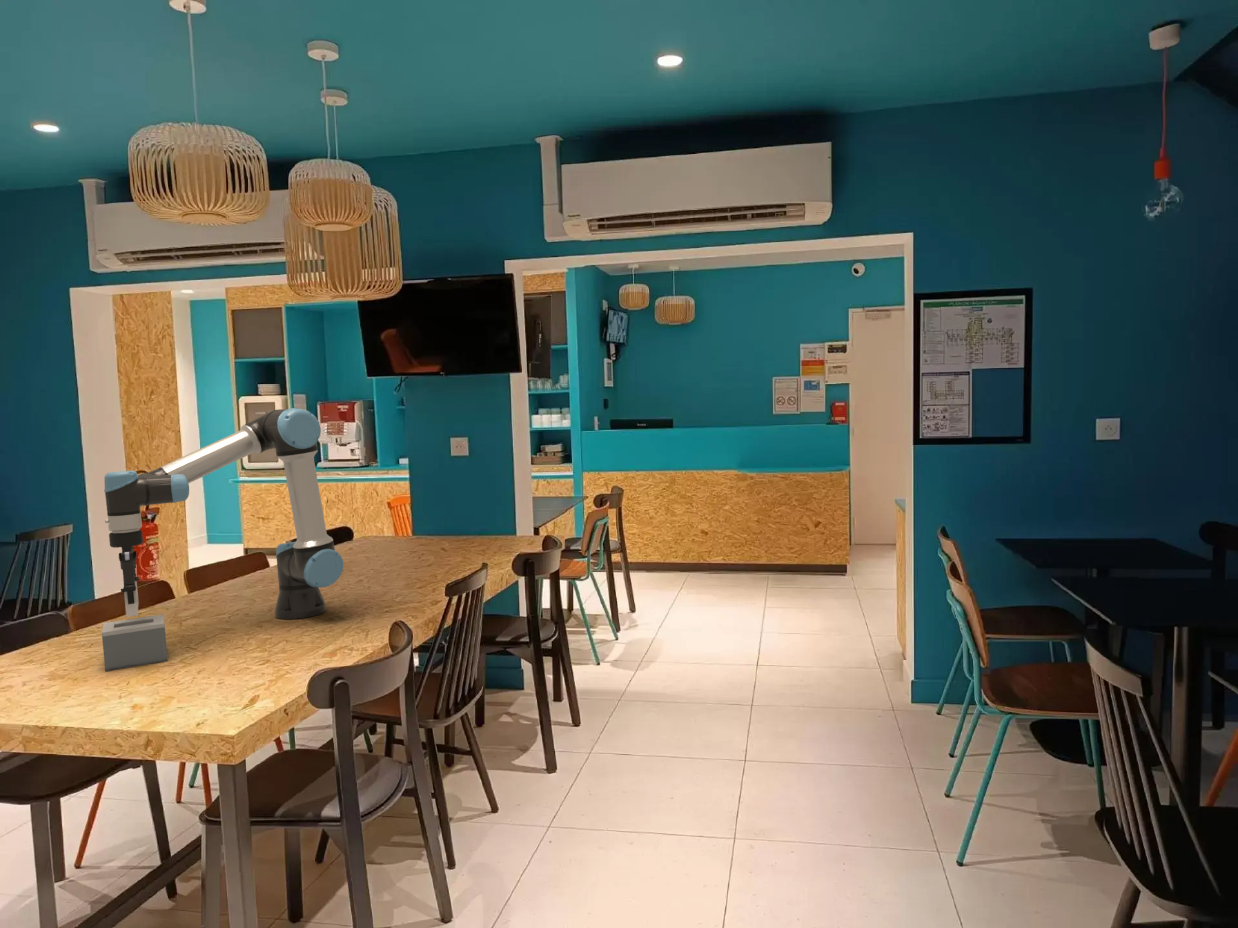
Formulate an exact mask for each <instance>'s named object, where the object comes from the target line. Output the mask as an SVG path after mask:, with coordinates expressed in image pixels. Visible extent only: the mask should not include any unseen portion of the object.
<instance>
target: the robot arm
mask: <svg viewBox="0 0 1238 928" xmlns="http://www.w3.org/2000/svg"><path fill="white" fill-rule="evenodd" d="M320 424H321V423H320V422H319V420H318V418H317V417H316V416H315V415H314V413H312V412H311V411H309V410H307V409H304V408H298V407H292V408H285V409H274V410H271V411H269V412H267V413H265V414H262V415H260V416H258V417H257V418H255V419H254V420H251V421H250V422H248V423H245V424H243V425H241V427H240V430H238V431H236V432H234V433H232V434H229V435H228V436H225V437H223V438H221V439H219V440H216V441H214V442H212V443H210V444H208V445H205V446H203V447H200V448H198V449H197V450H194V451H193V452H190V453H187V454H186V455H184V456H182V457H180V458H179V457H178V458H177V459H175V460H173V461H171V462H169V463H166V464H163V465H161V466H160V467H158V468H156V469H152V470H150V471H149V472H146V473H145V472H144V473H140V474H138V472H137V471H135V470H121V471H112V472H110V471H109V472H107V473H106V474H105V475H104V496H105V503H106V505H105V506H106V511H107V512H106V513H107V514H106V515H107V519H105V520H104V523H105V524H108V526H107V527H108V531H109V532H110V533H109V534H108V539H109V546H110V547H111V548H115V549H117V548H121V552H119V553H118V560H119V564H120V569H121V570H122V576H123V577H122V578H123V579H122V580H123V588H120V592H121V593H123V596H124V604H125V605H124V606H125V607H124V608H125V616H126V618H129V617H130V618H131V617H137V616H139V606H140V605H139V604H140V602H139V593H138V581H140V577H139V576H137V573H136V568H137V558H138V557H137V556H138V555H137V551H135V550H134V547H137V546H140V545H143V544H144V535H143V530H141V528H142V527H143V524H142V523H143V522H142V512H141V507H144V506H150V505H151V506H153V505H163V504H171V503H173V504H176V503H179V502H185V501H186V500H187V499H188V498H189V496H190V485H189V484H190V483H193V482H195V481H197V480H199V479H201V478H203V477H204V476H207V475H210V474H212V473H214V472H215V471H218V470H220V469H223V468H224V467H226V466H228V465H231V464H233V463H234V462H236V461H238V460H239V461H240V460H241V459H242V458H246V457H247V456H249V455H251V454H256V455H259V454H262V453H264V452H266V451H270V450H273V449H275V454H276V458H277V459H279V460H280V461H282V462H283V468H284V474H285V479H286V485H287V489H288V495H289V496H288V497H289V501H290V507H291V512H292V519H293V523H294V524H293V525H294V529H295V534H296V541H292V542H291V541H290V542H284V543H280V544H278V545H277V546H276V547H275V548H276V552H275V553H276V554H275V557H276V566H277V578H278V591H279V593H278V595H277V600H276V603H275V608H274V617H275V618H276V619H282V620H296V619H297V620H298V619H303V618H304V619H305V618H311V617H315V616H319V615H321V614H323V613H325V612H326V611H327V605H326V601H325V599H324V597H323V595H322V593H321V590H320V588H326V587H330V586H331V585H333V584H335V583H336V582H337V581H338V580H339V579H340V577H341V576H342V573H343V570H344V559H343V557H342V555H341V554H340V553H339V552H338V551H337V550H336V548H335V544H334V539H333V537H332V536H330V535H329V534H327V533H328V532H327V528H326V527H327V526H326V523H325V516H324V511H323V505H322V504H323V503H322V499H321V493H320V487H319V486H320V485H319V480H318V475H317V470H316V469H317V468H316V465H315V455H316V454H317V453H318V452H319V451H318V440H319V439H320V436H321V433H322V430H321V425H320Z"/></svg>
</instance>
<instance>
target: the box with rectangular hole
mask: <svg viewBox="0 0 1238 928" xmlns="http://www.w3.org/2000/svg"><path fill="white" fill-rule="evenodd" d="M165 624H166V623H165V615H164V614H156V615H149V616H143V617H142V616H141V617H136V618H130V619H129V618H128V619H123V620H122V619H121V620H115V621H107V622H103V624H102V625H103V626H102V630H101V637H102V639H101V640H102V649H103V659H104V660H103V661H104V670H105V672H110V671H111V672H112V671H117V670H122V669H128V668H134V667H140V666H145V665H146V666H147V665H152V664H153V665H154V664H158V663H165V662H168V661H169V659H168V647H167V637H166V625H165Z"/></svg>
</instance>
